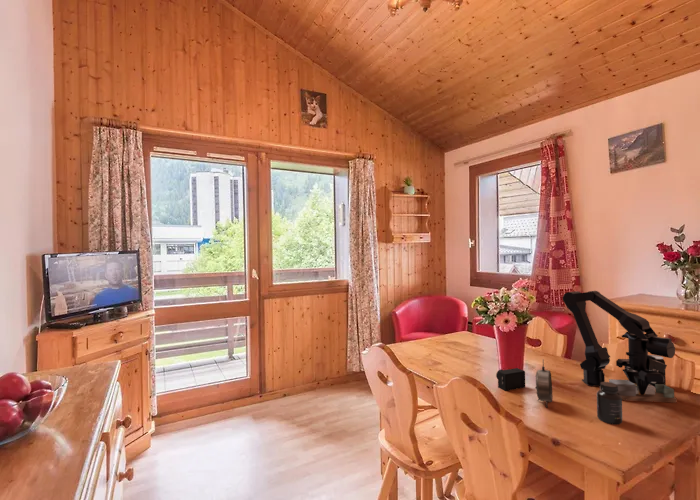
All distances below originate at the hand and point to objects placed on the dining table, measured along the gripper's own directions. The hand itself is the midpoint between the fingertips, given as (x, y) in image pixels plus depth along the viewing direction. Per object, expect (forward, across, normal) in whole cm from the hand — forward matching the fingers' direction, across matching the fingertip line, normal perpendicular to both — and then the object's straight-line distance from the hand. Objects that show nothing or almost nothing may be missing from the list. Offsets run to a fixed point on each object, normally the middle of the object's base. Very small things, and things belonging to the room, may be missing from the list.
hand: (639, 392), depth 135 cm
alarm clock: (+2, -8, +36) cm, 38 cm away
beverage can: (+2, +14, -14) cm, 19 cm away
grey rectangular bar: (0, 0, +2) cm, 2 cm away
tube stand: (+2, 0, 0) cm, 2 cm away
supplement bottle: (+2, -20, +20) cm, 29 cm away
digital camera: (+2, +6, +44) cm, 45 cm away
